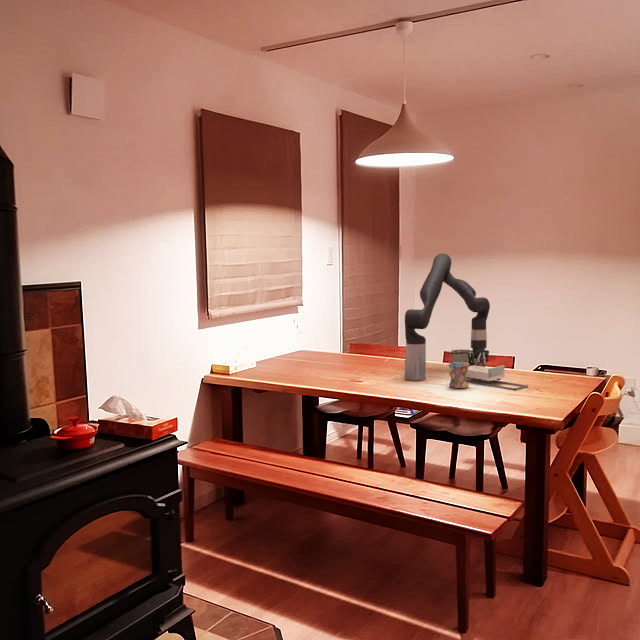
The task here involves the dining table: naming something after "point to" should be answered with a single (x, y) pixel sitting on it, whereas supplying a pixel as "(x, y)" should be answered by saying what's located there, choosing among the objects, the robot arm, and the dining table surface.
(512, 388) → the rails
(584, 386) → the dining table surface
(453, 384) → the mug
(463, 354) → the food container
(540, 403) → the dining table surface
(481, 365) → the block
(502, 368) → the cart
